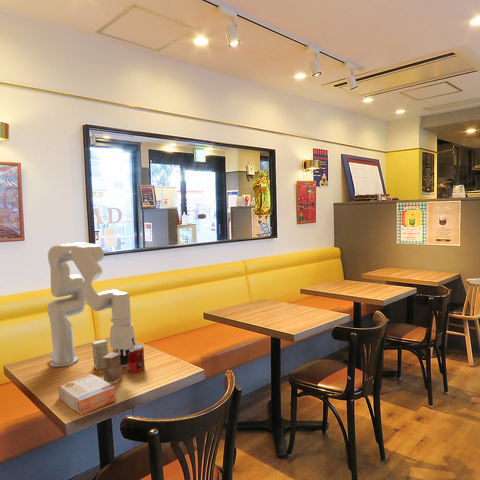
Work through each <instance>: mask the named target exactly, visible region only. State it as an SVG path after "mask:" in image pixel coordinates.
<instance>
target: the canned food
mask: <svg viewBox="0 0 480 480" xmlns="http://www.w3.org/2000/svg"><path fill="white" fill-rule="evenodd" d="M134 348H135V350H134V351H133V352H130V353H129V354H128V363H127V366H126V370H127V372H128V373H130V374H138V373H141V372H144V370H145V367H146V366H145V352H144V350H145V349H144V345H143V344H141V343H135V346H134Z"/></svg>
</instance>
